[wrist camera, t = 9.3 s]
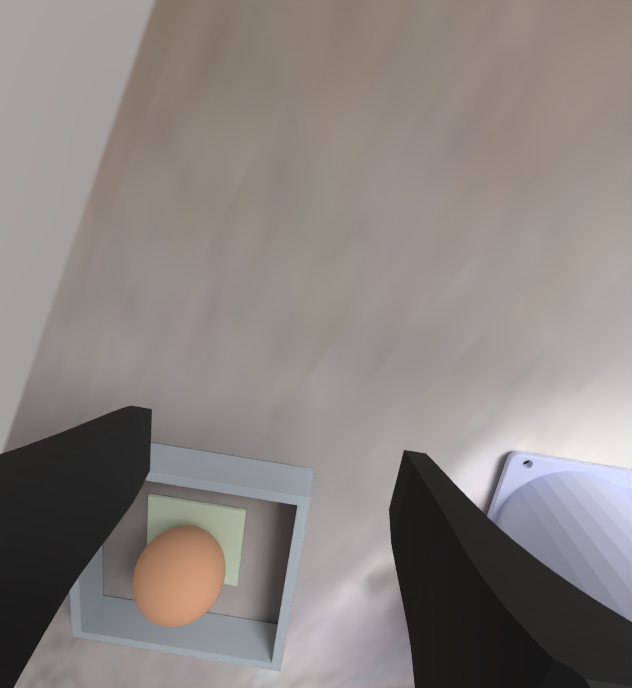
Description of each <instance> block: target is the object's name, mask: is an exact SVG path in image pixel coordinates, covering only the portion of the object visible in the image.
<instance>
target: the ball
mask: <svg viewBox="0 0 632 688" xmlns="http://www.w3.org/2000/svg"><path fill="white" fill-rule="evenodd" d="M225 572H226V565H225V558H224V554H223V551H222V549H221V547H220V545H219V543H218V541H217V540H216V539H215V538H214V537H213V536H212V535H211V534H210V533H208V532H207V531H205V530H203V529H201V528H198V527H195V526H178V527H174V528H171V529H168V530H166V531H164V532H162V533H161V534H159V535H158V536H156V537H155V538H154V539H153V540H152V541H151V542H150V543H149V544H148V545H147V546H146V547H145V549H144V550H143V552H142V553H141V555H140V557H139V559H138V561H137V563H136V566H135V569H134V574H133V581H132V586H133V595H134V599H135V602H136V604H137V606H138V608H139V610H140V611H141V613H142V614H143V615H144V616H145V617H146V618H147V619H148V620H150V621H151V622H153V623H155V624H157V625H160V626H164V627H180V626H184V625H187V624H190V623H192V622H194V621H196V620H197V619H199V618H200V617H202V616H203V615H204V614H205V613H206V612H207V611H208V610H209V609H210V608H211V607H212V606H213V604H214V603H215V601H216V600H217V598H218V596H219V594H220V592H221V590H222V587H223V584H224V580H225Z"/></svg>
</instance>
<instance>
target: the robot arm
mask: <svg viewBox="0 0 632 688" xmlns="http://www.w3.org/2000/svg"><path fill="white" fill-rule="evenodd" d="M151 417H152V409H148V408H142V407H135V406H128V407H125V408H122V409H119V410H116V411H114V412H111V413H108V414H106V415H103V416H101V417H99V418H96V419H94V420H91V421H89V422H86V423H84V424H81V425H79V426H76V427H74V428H72V429H69V430H67V431H64V432H62V433H59V434H56V435H53V436H51V437H48V438H45V439H43V440H40V441H37V442H34V443H32V444H29V445H26V446H24V447H21V448H18V449H15V450H12V451H9V452H6V453H2V454H0V688H14V686H15V684H16V682H17V680H18V678H19V677H20V675H21V673H22V671H23V670H24V668H25V666H26V664H27V663H28V661H29V659H30V657H31V656H32V654H33V652H34V650H35V649H36V647H37V645H38V643H39V641H40V640H41V638H42V636H43V634H44V633H45V631H46V629H47V628H48V626H49V624H50V623H51V621H52V619H53V618H54V616H55V614H56V613H57V611H58V609H59V608H60V606H61V604H62V602H63V601H64V599H65V597H66V596H67V594H68V592H69V591H70V589H71V588H72V586H73V585H74V583H75V582H76V580H77V579H78V577H79V576H80V574H81V573H82V572H83V570H84V569H85V568H86V566H87V565H88V563H89V562H90V561H91V559H92V558H93V557H94V555H95V554H96V553H97V551H98V550H99V548H100V547H101V546H102V544H103V543H104V542H105V540H106V539H107V538H108V536H109V535H110V533H111V532H112V531H113V529H114V528H115V527H116V525H117V524H118V522H119V521H120V520H121V518H122V517H123V515H124V514H125V513H126V511H127V510H128V509H129V507H130V506H131V504H132V503H133V501H134V500H135V498H136V496H137V494H138V492H139V491H140V489H141V487H142V485H143V483H144V481H145V479H146V477H147V476H148V474H149V472H150V456H151ZM526 460H529V462H528V463H527V464H523V463H524V462H525V461H526ZM389 516H390V532H391V544H392V550H393V555H394V560H395V566H396V571H397V576H398V581H399V586H400V591H401V596H402V601H403V606H404V611H405V616H406V621H407V626H408V632H409V639H410V645H411V653H412V663H413V673H414V683H415V688H632V470H630V469H624V468H618V467H612V466H606V465H599V464H593V463H587V462H581V461H575V460H568V459H562V458H556V457H550V456H544V455H538V454H531V453H525V452H519V451H516V452H512V453H511V454H509V455H508V457H507V459H506V462H505V465H504V468H503V471H502V474H501V477H500V480H499V482H498V485H497V488H496V491H495V494H494V497H493V500H492V503H491V506H490V508H489V511H488V514H487V516H486V515H485V514H484V513H483V512H482V511H481V510H480V509H479V508H478V507H477V506H476V505H475V504H474V503H473V502H472V501H471V500H470V499H469V498H468V497H467V496H466V495H465V494H464V493H463V492H462V491H461V490H460V489H459V488H458V487H457V486H456V485H455V484H454V483H453V482H452V480H451V479H450V478H449V477H448V476H447V475H446V474H445V473H444V472H443V471H442V470H441V469H440V468H439V466H438V465H437V464H436V463H435V462H434V461H433V460H432V459H431V458H430V457H429V456H428V455H427V454H426V453H420V452H413V451H407V450H404V453H403V457H402V461H401V464H400V468H399V472H398V476H397V480H396V484H395V488H394V492H393V496H392V500H391V504H390V508H389Z"/></svg>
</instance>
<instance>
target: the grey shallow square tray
mask: <svg viewBox="0 0 632 688" xmlns="http://www.w3.org/2000/svg"><path fill="white" fill-rule="evenodd" d="M313 470H314V469H310V468H304V467H297V466H291V465H285V464H279V463H273V462H267V461H260V460H254V459H248V458H242V457H236V456H230V455H224V454H217V453H211V452H205V451H199V450H193V449H187V448H180V447H174V446H168V445H162V444H156V443H151V456H150V472H149V474H148V476H147V477H146V479H145V480H146V481H152V482H158V483H164V484H170V485H176V486H183V487H189V488H195V489H201V490H207V491H213V492H219V493H225V494H232V495H238V496H244V497H250V498H256V499H262V500H268V501H275V502H281V503H287V504H293V505H297V509H296V515H295V521H294V527H293V533H292V539H291V545H290V552H289V558H288V564H287V570H286V576H285V582H284V588H283V594H282V600H281V606H280V612H279V618H278V624H273V623H267V622H261V621H255V620H249V619H243V618H237V617H231V616H225V615H218V614H212V613H205V614H204V615H203V616H202V617H200V618H199V619H197V620H196V621H194V622H192V623H190V624H187V625H184V626H180V627H164V626H160V625H157V624H155V623H153V622H151V621H150V620H148V619H147V618H146V617H145V616H144V615H143V614H142V613H141V611H140V610H139V608H138V606H137V604H136V602H135V601H134V600H127V599H121V598H115V597H109V596H103V551H102V546H101V547H100V548H99V550H98V551H97V553H96V554H95V555H94V557H93V558H92V559H91V561H90V562H89V563H88V565H87V566H86V568H85V569H84V570H83V572H82V573H81V574H80V576H79V577H78V579H77V580H76V582H75V583H74V585H73V586H72V588H71V589H70V609H71V627H72V637H76V638H82V639H88V640H94V641H100V642H106V643H112V644H118V645H124V646H130V647H136V648H142V649H148V650H154V651H161V652H167V653H173V654H179V655H185V656H191V657H197V658H203V659H209V660H215V661H221V662H227V663H233V664H239V665H245V666H251V667H257V668H263V669H269V670H275V671H280V669H281V663H282V657H283V652H284V646H285V640H286V635H287V629H288V623H289V618H290V612H291V606H292V601H293V595H294V589H295V584H296V578H297V572H298V567H299V561H300V555H301V550H302V544H303V538H304V533H305V527H306V521H307V516H308V510H309V504H310V499H311V489H312V479H313ZM246 510H247V509H241V508H235V507H229V506H223V505H216V504H210V503H204V502H198V501H192V500H186V499H180V498H174V497H167V496H161V495H155V494H149V495H148V522H147V545H148V544H149V543H150V542H151V541H152V540H153V539H154V538H155V537H156V536H158V535H159V534H161V533H162V532H164V531H166V530H168V529H171V528H174V527H178V526H195V527H198V528H201V529H203V530H205V531H207V532H208V533H210V534H211V535H212V536H213V537H214V538H215V539H216V540H217V541H218V543H219V545H220V547H221V549H222V551H223V554H224V558H225V565H226V572H225V580H224V584H226V585H232V586H237V585H238V578H239V569H240V561H241V552H242V544H243V535H244V527H245V518H246Z"/></svg>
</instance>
